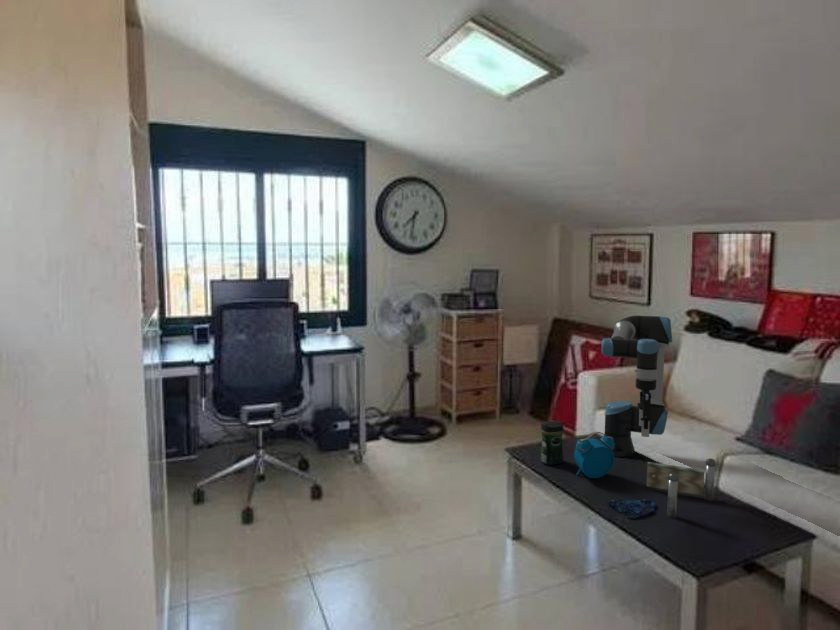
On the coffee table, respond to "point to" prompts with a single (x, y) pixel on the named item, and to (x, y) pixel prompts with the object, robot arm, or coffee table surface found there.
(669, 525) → the coffee table surface
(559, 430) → the coffee jar
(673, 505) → the gate posts
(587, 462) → the alarm clock
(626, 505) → the rock
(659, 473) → the gate
